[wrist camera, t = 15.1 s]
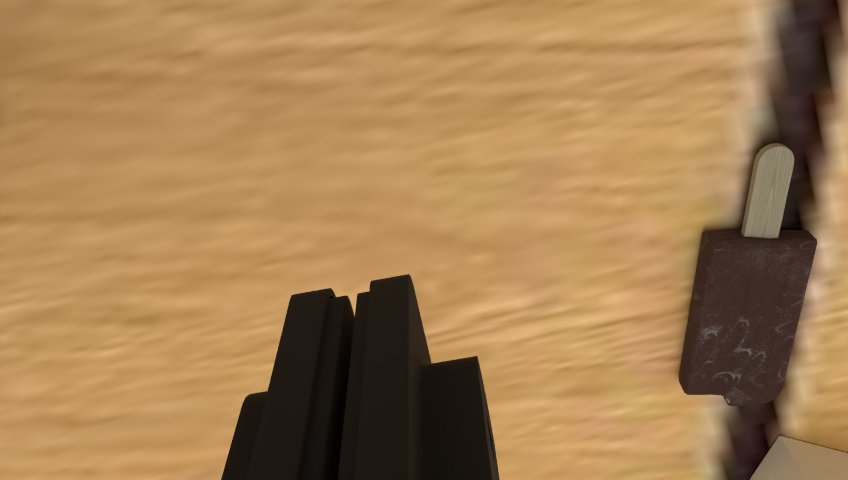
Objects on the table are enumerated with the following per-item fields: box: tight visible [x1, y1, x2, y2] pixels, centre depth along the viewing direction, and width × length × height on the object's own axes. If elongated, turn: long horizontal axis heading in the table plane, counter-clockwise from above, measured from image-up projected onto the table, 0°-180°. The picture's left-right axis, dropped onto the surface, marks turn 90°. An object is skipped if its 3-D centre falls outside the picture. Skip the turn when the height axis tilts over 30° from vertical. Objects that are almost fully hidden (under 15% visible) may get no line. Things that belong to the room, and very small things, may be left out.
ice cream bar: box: [679, 143, 817, 406], centre depth 42 cm, size 5×2×15 cm
